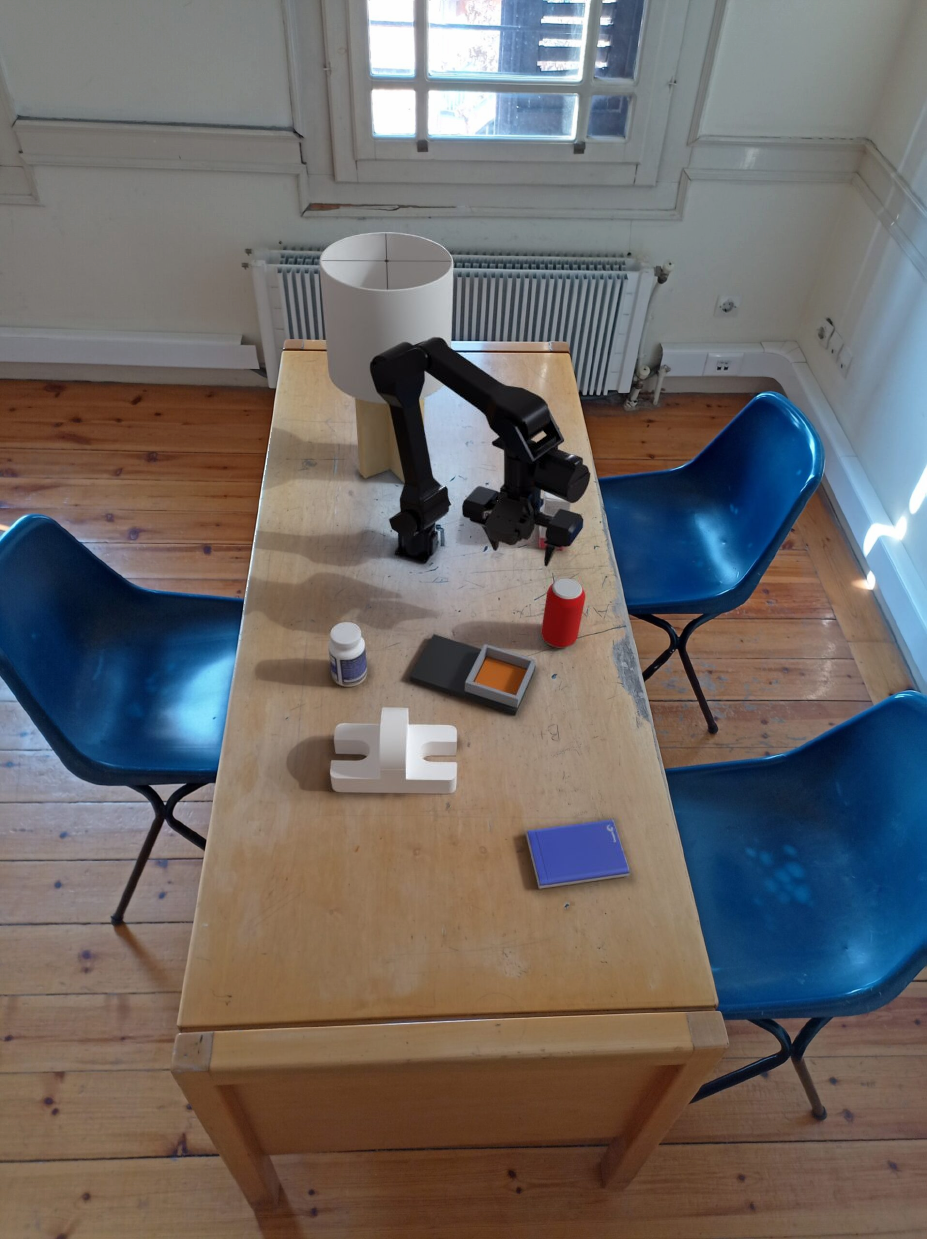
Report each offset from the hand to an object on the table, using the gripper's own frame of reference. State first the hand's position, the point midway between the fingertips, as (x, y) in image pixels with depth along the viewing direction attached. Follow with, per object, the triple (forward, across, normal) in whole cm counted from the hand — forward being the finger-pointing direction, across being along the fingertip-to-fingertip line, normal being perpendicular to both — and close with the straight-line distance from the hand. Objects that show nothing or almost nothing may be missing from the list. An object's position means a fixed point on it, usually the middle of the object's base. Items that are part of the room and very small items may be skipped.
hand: (521, 557), depth 141 cm
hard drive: (+16, +27, -38) cm, 49 cm away
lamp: (+9, -42, +25) cm, 49 cm away
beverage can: (+14, +8, -2) cm, 16 cm away
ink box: (+12, -4, +22) cm, 25 cm away
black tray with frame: (+13, -1, -16) cm, 21 cm away
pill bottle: (+12, -18, -26) cm, 34 cm away
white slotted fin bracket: (+13, -2, -37) cm, 40 cm away
